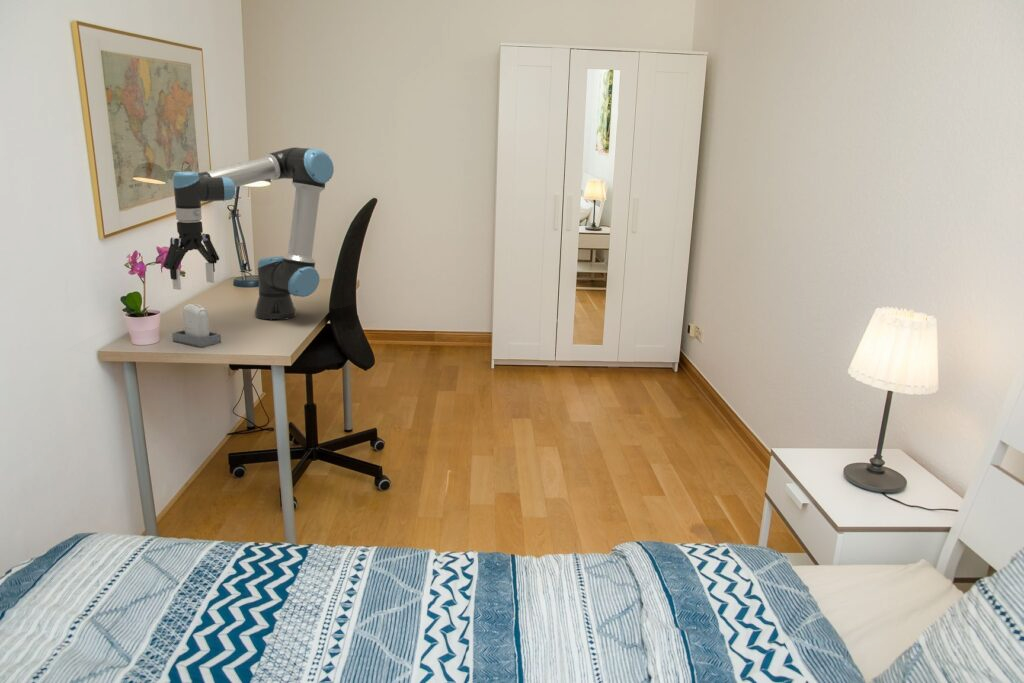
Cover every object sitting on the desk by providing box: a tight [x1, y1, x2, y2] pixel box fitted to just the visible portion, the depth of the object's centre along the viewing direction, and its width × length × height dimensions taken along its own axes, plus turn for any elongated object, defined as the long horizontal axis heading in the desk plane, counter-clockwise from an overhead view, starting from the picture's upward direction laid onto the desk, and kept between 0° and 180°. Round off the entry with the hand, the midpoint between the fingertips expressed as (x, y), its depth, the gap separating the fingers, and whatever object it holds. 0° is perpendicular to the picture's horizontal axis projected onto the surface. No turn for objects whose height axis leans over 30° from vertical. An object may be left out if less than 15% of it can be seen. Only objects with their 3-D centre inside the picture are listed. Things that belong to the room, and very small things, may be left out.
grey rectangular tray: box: [172, 329, 222, 349], centre depth 246 cm, size 8×13×3 cm, turn 64°
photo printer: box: [182, 303, 210, 339], centre depth 245 cm, size 10×4×12 cm, turn 52°
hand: (194, 285), depth 242 cm, fingers open, 13 cm apart
